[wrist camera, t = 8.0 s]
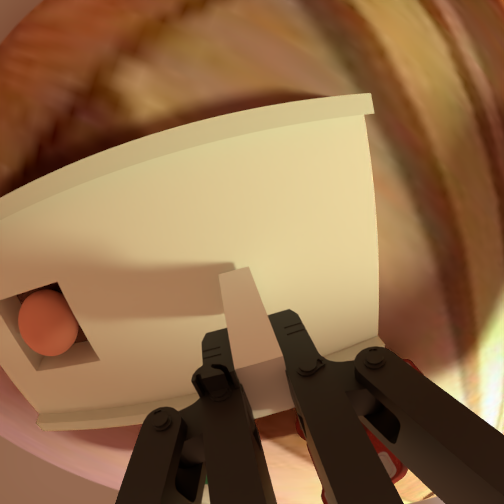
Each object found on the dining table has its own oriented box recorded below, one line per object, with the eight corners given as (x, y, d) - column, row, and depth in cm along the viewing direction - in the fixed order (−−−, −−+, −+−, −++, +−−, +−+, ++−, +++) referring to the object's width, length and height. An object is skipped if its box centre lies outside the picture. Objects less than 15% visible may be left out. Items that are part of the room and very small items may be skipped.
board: (338, 98, 15) (370, 93, 12) (361, 326, 22) (384, 355, 19) (-45, 226, 13) (-74, 244, 10) (53, 400, 20) (43, 431, 16)
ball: (47, 303, 13) (-3, 318, 12) (82, 363, 14) (31, 373, 14) (68, 271, 16) (22, 287, 16) (94, 324, 18) (49, 336, 17)
